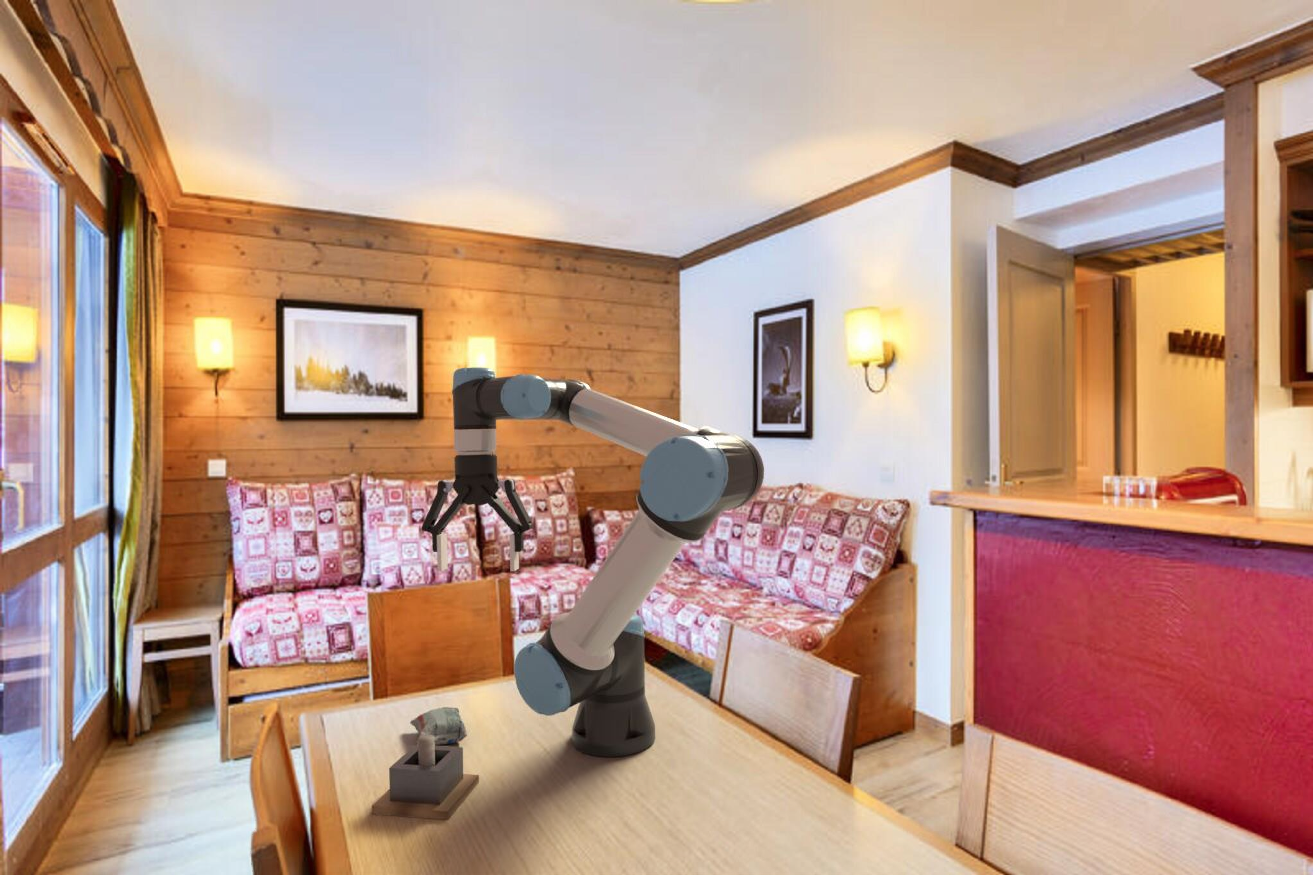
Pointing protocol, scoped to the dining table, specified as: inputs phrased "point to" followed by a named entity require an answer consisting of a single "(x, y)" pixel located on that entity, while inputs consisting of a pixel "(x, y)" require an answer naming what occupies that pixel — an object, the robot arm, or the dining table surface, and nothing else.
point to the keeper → (427, 810)
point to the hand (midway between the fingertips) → (478, 570)
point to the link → (426, 776)
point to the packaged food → (441, 725)
